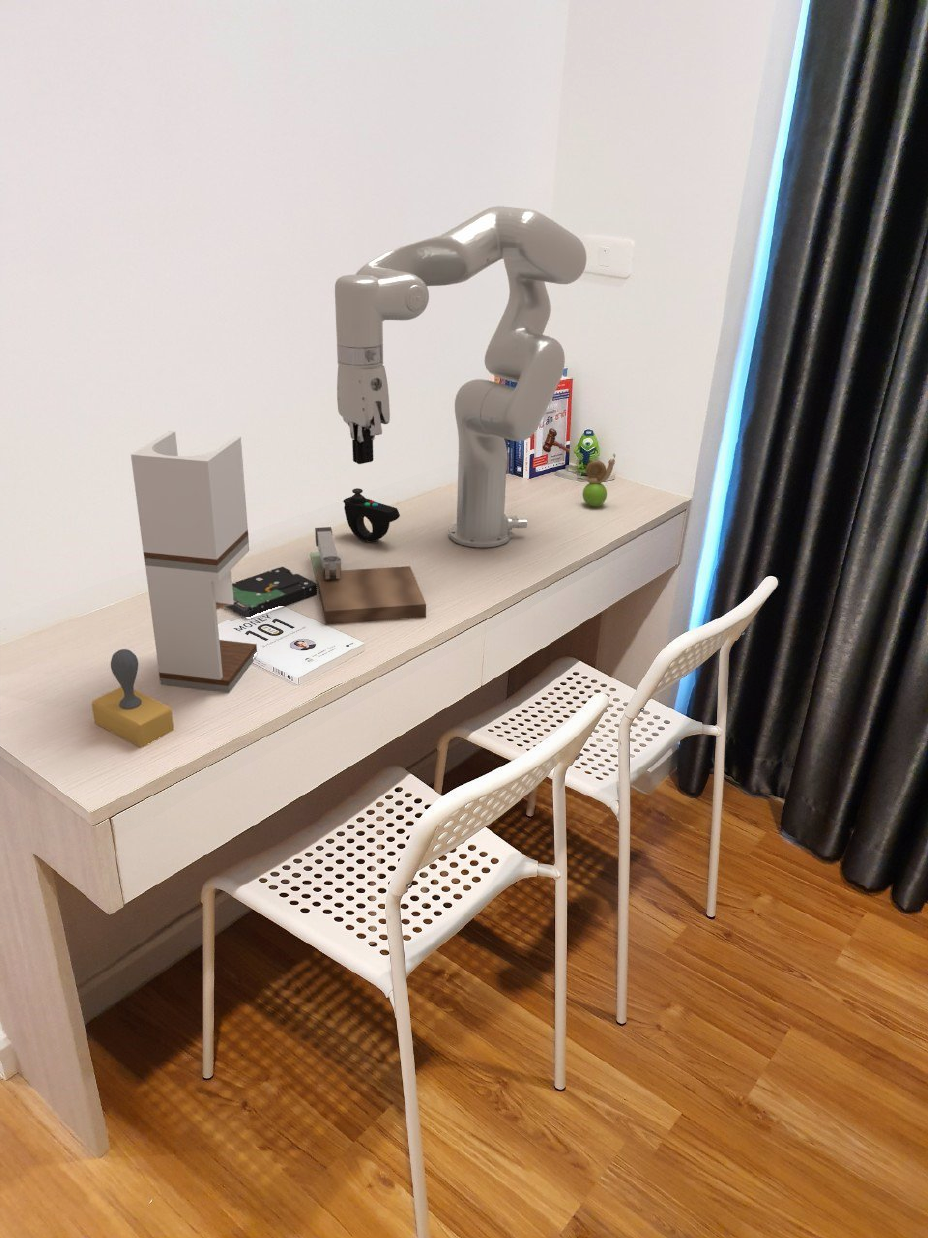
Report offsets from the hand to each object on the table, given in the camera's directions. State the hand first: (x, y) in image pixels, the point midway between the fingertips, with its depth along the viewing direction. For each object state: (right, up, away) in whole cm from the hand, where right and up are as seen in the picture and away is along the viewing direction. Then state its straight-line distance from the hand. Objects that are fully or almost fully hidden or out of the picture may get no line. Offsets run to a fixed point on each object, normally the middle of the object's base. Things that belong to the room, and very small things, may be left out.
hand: (363, 461), depth 169 cm
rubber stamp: (-28, -42, -35) cm, 62 cm away
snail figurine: (+47, -2, +48) cm, 67 cm away
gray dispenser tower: (-21, -35, -21) cm, 46 cm away
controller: (-1, -12, +26) cm, 29 cm away
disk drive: (-17, -24, +2) cm, 30 cm away
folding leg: (-7, -16, +9) cm, 20 cm away
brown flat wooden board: (-1, -21, +8) cm, 22 cm away
